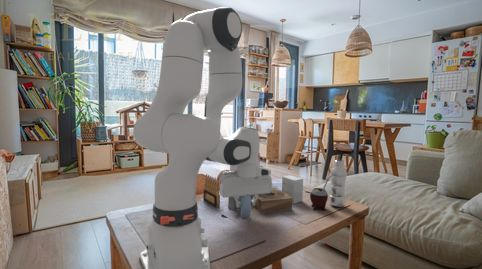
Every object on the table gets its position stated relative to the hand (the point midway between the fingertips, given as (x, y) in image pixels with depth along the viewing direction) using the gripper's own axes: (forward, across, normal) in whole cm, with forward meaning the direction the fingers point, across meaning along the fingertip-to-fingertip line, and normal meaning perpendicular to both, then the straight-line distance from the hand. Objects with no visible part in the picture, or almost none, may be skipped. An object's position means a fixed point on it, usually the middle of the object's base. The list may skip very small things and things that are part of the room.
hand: (245, 206), depth 100 cm
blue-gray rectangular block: (+4, 0, 0) cm, 4 cm away
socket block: (+4, +14, +8) cm, 17 cm away
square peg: (+4, -1, +9) cm, 10 cm away
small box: (+4, +27, +11) cm, 29 cm away
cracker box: (+4, +9, +25) cm, 27 cm away
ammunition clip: (+4, -9, +17) cm, 20 cm away
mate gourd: (+4, +33, -1) cm, 33 cm away
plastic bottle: (+4, +42, -1) cm, 42 cm away
